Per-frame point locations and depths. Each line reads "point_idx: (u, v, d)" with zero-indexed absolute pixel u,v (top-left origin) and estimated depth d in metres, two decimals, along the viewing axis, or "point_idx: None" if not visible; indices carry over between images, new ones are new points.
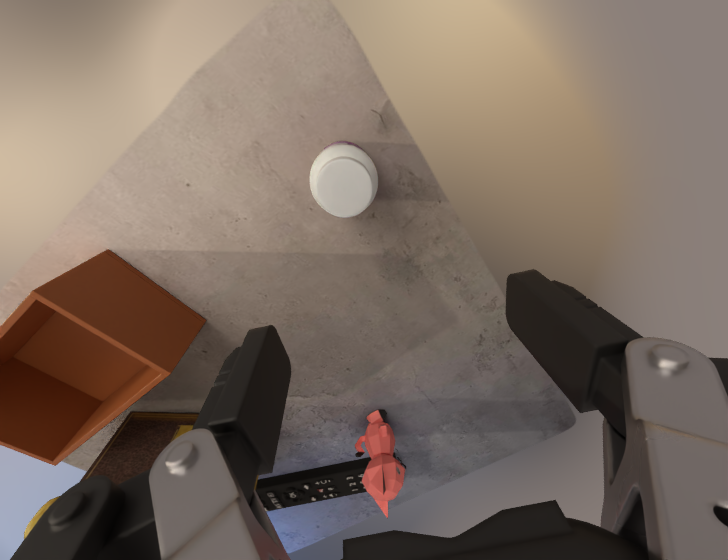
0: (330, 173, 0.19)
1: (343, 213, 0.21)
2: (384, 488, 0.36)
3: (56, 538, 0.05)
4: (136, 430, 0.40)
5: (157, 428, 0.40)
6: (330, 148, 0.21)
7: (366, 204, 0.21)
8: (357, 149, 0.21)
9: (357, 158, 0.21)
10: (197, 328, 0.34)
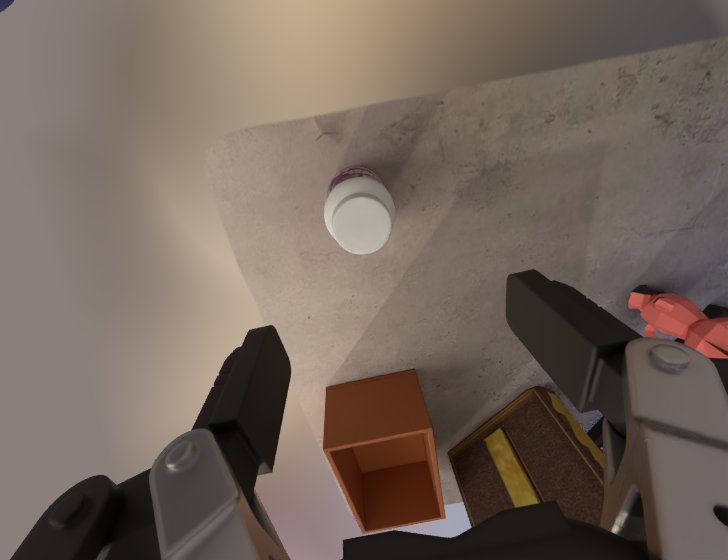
0: (341, 232, 0.19)
1: (382, 239, 0.20)
2: None
3: (57, 538, 0.05)
4: (463, 463, 0.46)
5: (473, 452, 0.45)
6: (324, 212, 0.21)
7: (386, 213, 0.19)
8: (336, 188, 0.20)
9: (343, 194, 0.20)
10: (415, 380, 0.37)
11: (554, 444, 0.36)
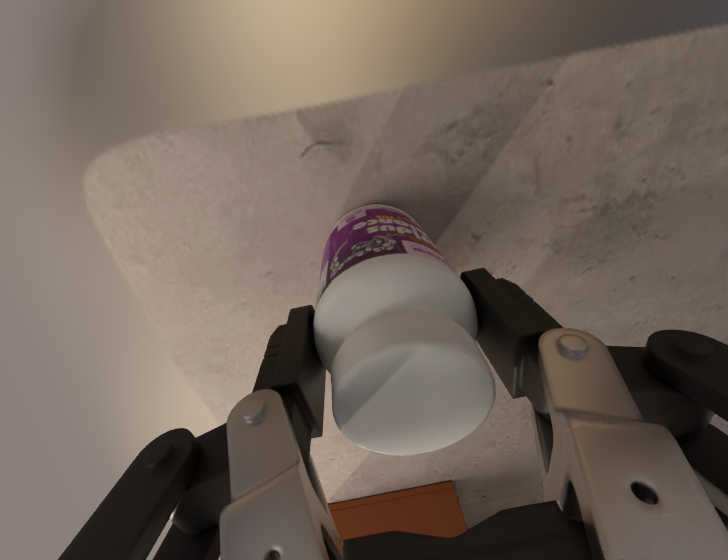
0: (358, 420, 0.07)
1: (466, 428, 0.07)
2: None
3: (148, 479, 0.05)
4: None
5: None
6: (314, 332, 0.09)
7: (487, 377, 0.07)
8: (343, 284, 0.08)
9: (361, 303, 0.08)
10: (455, 505, 0.25)
11: None
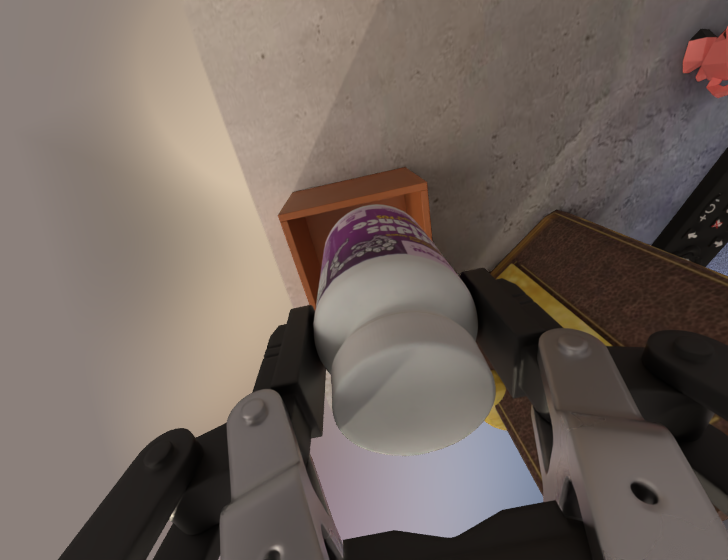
0: (358, 421, 0.07)
1: (466, 428, 0.07)
2: None
3: (148, 478, 0.06)
4: None
5: None
6: (314, 332, 0.09)
7: (487, 378, 0.07)
8: (343, 284, 0.08)
9: (361, 304, 0.08)
10: (405, 170, 0.29)
11: (585, 247, 0.28)
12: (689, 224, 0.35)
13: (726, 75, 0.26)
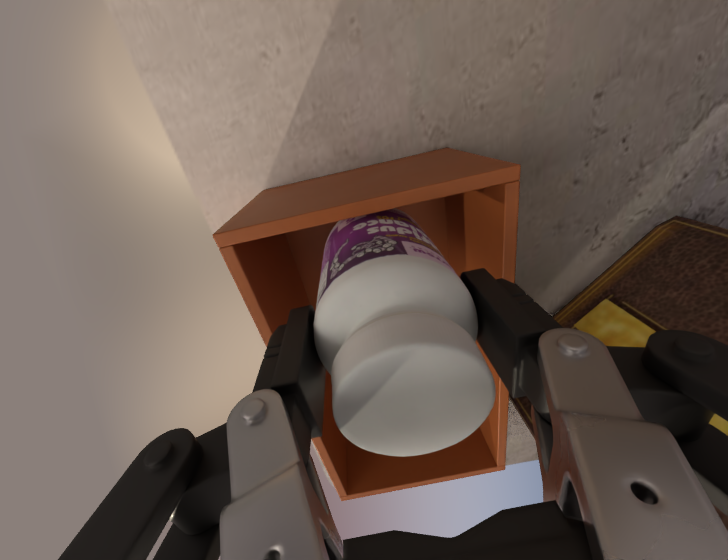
0: (358, 422, 0.07)
1: (466, 429, 0.07)
2: None
3: (148, 479, 0.05)
4: None
5: None
6: (314, 333, 0.09)
7: (487, 379, 0.07)
8: (343, 285, 0.08)
9: (361, 305, 0.08)
10: (452, 151, 0.17)
11: None
12: None
13: None
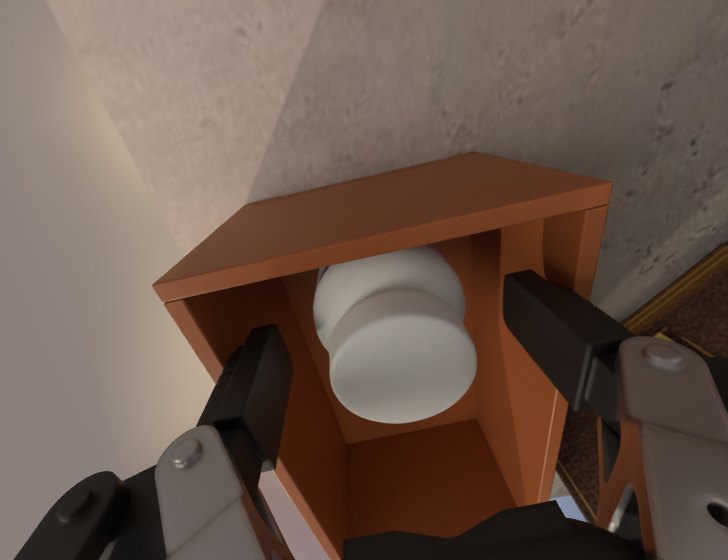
0: (353, 388, 0.08)
1: (452, 397, 0.08)
2: None
3: (63, 533, 0.05)
4: None
5: None
6: (314, 313, 0.10)
7: (469, 348, 0.07)
8: (340, 267, 0.09)
9: (356, 284, 0.09)
10: (484, 156, 0.13)
11: None
12: None
13: None
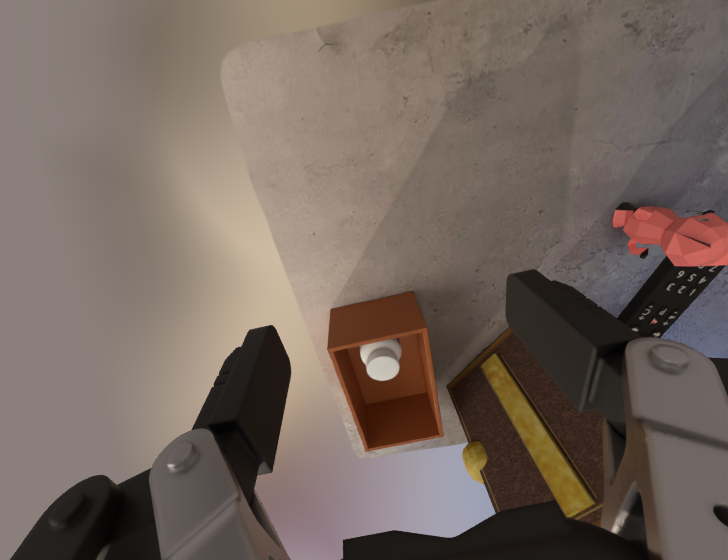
0: (371, 371, 0.35)
1: (394, 373, 0.35)
2: (705, 243, 0.29)
3: (57, 537, 0.05)
4: (461, 390, 0.48)
5: (470, 380, 0.47)
6: (360, 352, 0.37)
7: (396, 362, 0.34)
8: None
9: (372, 347, 0.36)
10: (412, 298, 0.40)
11: None
12: (631, 322, 0.45)
13: (638, 241, 0.36)
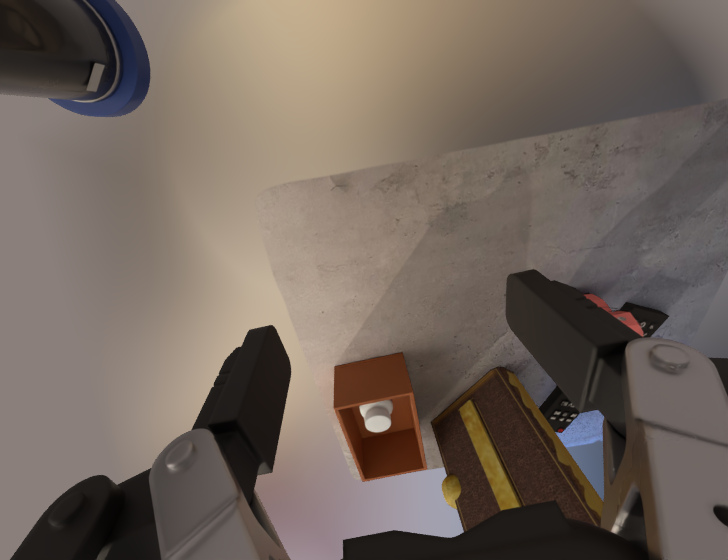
0: (369, 426, 0.44)
1: (387, 427, 0.44)
2: None
3: (57, 538, 0.05)
4: (442, 428, 0.57)
5: (450, 420, 0.57)
6: (360, 408, 0.46)
7: (388, 419, 0.43)
8: None
9: (369, 405, 0.45)
10: (402, 360, 0.49)
11: (507, 408, 0.48)
12: None
13: None
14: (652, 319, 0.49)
